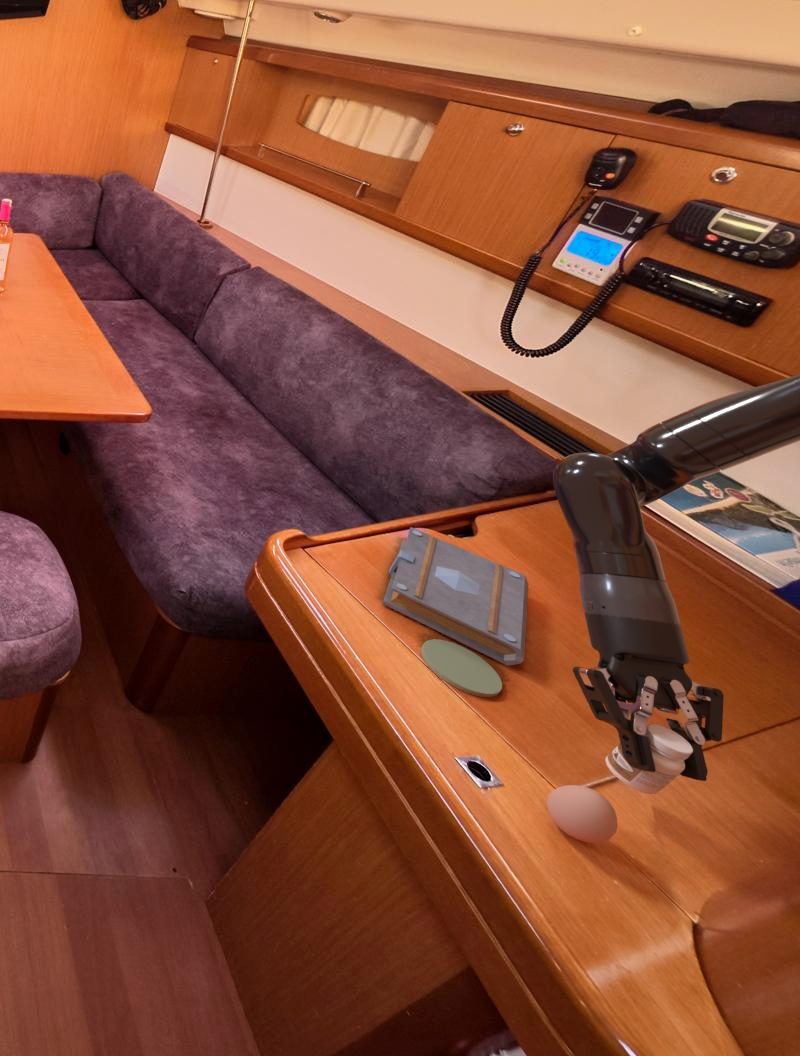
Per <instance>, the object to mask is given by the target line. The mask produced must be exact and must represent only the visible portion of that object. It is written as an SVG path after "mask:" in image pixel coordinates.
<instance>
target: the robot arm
mask: <svg viewBox="0 0 800 1056" xmlns="http://www.w3.org/2000/svg"><path fill="white" fill-rule="evenodd" d="M799 442H800V373H799V374H796V375H793V376H789V377H786V378H783V379H780V380H777V381H773V382H769V383H766V384H762V385H758V386H755V387H751V388H748V389H744V390H740V391H737V392H734V393H731V394H728V395H724V396H722V397H719V398H716V399H713V400H711V401H707V402H705V403H702V404H700V405H698V406H695V407H692V408H690V409H688V410H686V411H683V412H681V413H679V414H677V415H674V416H672V417H669V418H668V419H665V420H663V421H661V422H658V423H656V424H654V425H652V426H650V427H648V428H645V429H644V430H642V431H641V432H640V433H639V434H638V435H637V436H636V440H634V441H632V442H631V443H629V444H626V445H625V446H623V447H621V448H619V449H617V450H616V449H615V450H614V451H612V452H611V453H608V454H606V455H605V454H602V453H595V452H577V453H573V454H570V455H567V456H565V457H563V458H562V459H561V460H559V461H558V462H557V464H556V465H555V467H554V469H553V472H552V482H553V483H552V484H553V489H554V493H555V495H556V498H557V501H558V505H559V507H560V509H561V512H562V515H563V518H564V520H565V522H566V524H567V527H568V529H569V531H570V534H571V538H572V546H573V552H574V559H575V563H576V567H577V571H578V573H579V574H578V578H579V593H580V599H581V603H582V608H583V613H584V617H585V622H586V627H587V631H588V636H589V641H590V646H591V647H592V649H594V650H595V651H597V652H598V654H599V660H598V663H597V666H593V667H588V668H587V667H582V666H577V665H576V666H573V668H572V673H573V675H574V677H575V679H576V681H577V683H578V686H579V688H580V690H581V691H582V693H583V696H584V697H585V700H586V702H587V704H588V706H589V708H590V710H591V712H592V714H593V716H594V718H595V719H597V721H600V722H604V723H606V724H608V725H610V726H612V727H614V728H615V729H616V731H617V734H618V739H619V744H620V743H621V748H622V752H623V756H624V758H625V759H626V761H628V763H629V765H630V766H631V767H634V768H637V769H640V770H643V771H648V772H655V770H656V769H655V765H654V760H653V756H652V752H651V747H650V743H649V739H648V737H646V736H642V735H645V733H646V727H647V726H648V724H647V723H648V718H651V717H652V716H653V714H655V715H656V716H657V717H659V718H660V719H661V720H662V722H663V724H664V727H667V728H669V729H671V730H673V731H674V732H676V733H678V734H679V735H680V736H682V737H683V738H684V739H685V740H686V741H688V742H689V744H690V745H691V746H692V748H693V753H692V754H691V755H690V756H689V757H688V758H687V759H685V760H684V762H685V769H684V770H683V771H682V772H681V773H680V774H679V775H680V776H682V777H684V778H685V777H686V778H689V779H692V780H696V781H701V782H706V781H707V779H708V778H707V776H708V773H709V772H708V767H707V762H706V759H705V755H704V751H703V747H702V746H703V745H705V744H706V743H707V742H710V741H713V742H717V743H719V742H721V741H722V739H723V722H724V721H723V720H724V698H725V697H724V696H725V695H724V693H723V692H722V690H720V689H719V688H716V687H711V686H707V685H702V684H700V683H697V682H695V681H692V678H691V677H690V676H689V674H688V673H687V672H686V670H685V666H684V665H687V664H690V662H691V659H690V654H689V651H688V646H687V643H686V639H685V635H684V631H683V628H682V627H683V626H682V623H681V619H680V616H679V612H678V608H677V604H676V601H675V599H674V597H673V594H672V592H671V590H670V587H669V585H668V582H667V577H666V574H665V571H664V567H663V563H662V560H661V555H660V553H659V550H658V546H657V545H656V543H655V541H654V539H653V538H652V537H651V536H650V534H649V533H648V532H647V530H646V526H645V523H644V517H643V514H642V511H641V508H642V507H645V506H647V505H650V504H651V503H654V502H656V501H658V500H660V499H662V498H664V497H666V496H668V495H670V494H672V493H674V492H676V491H678V490H680V489H682V488H683V487H686V486H687V485H689V484H690V483H692V482H694V481H696V480H698V479H702V478H704V477H707V476H708V477H709V476H711V475H714V474H717V473H720V472H721V471H725V470H728V469H731V468H733V467H736V466H738V465H741V464H744V463H746V462H749V461H751V460H754V459H756V458H759V457H762V456H764V455H767V454H769V453H772V452H775V451H777V450H779V449H783V448H785V447H787V446H790V445H793V444H795V443H799ZM629 716H630V717H629ZM703 719H704V727H703V726H702V725H703Z"/></svg>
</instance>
